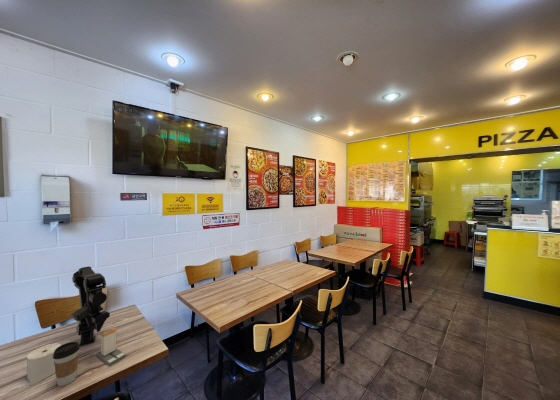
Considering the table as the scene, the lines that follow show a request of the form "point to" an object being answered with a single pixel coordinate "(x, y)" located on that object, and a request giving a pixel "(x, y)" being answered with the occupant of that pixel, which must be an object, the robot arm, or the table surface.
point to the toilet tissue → (41, 363)
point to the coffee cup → (66, 362)
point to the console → (111, 357)
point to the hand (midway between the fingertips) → (94, 329)
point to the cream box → (108, 341)
